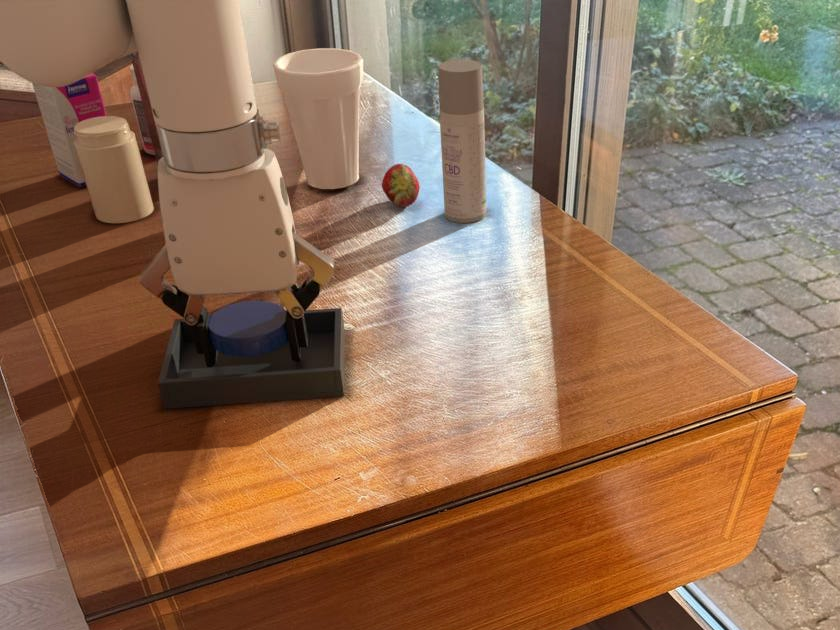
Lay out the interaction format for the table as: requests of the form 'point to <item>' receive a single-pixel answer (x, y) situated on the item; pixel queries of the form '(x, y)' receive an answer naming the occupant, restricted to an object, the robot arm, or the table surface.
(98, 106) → the supplement box
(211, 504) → the table surface
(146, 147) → the pill bottle
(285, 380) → the tray
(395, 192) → the fruit
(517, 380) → the table surface
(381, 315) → the table surface
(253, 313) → the lid
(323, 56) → the cup
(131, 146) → the jar
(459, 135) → the container
